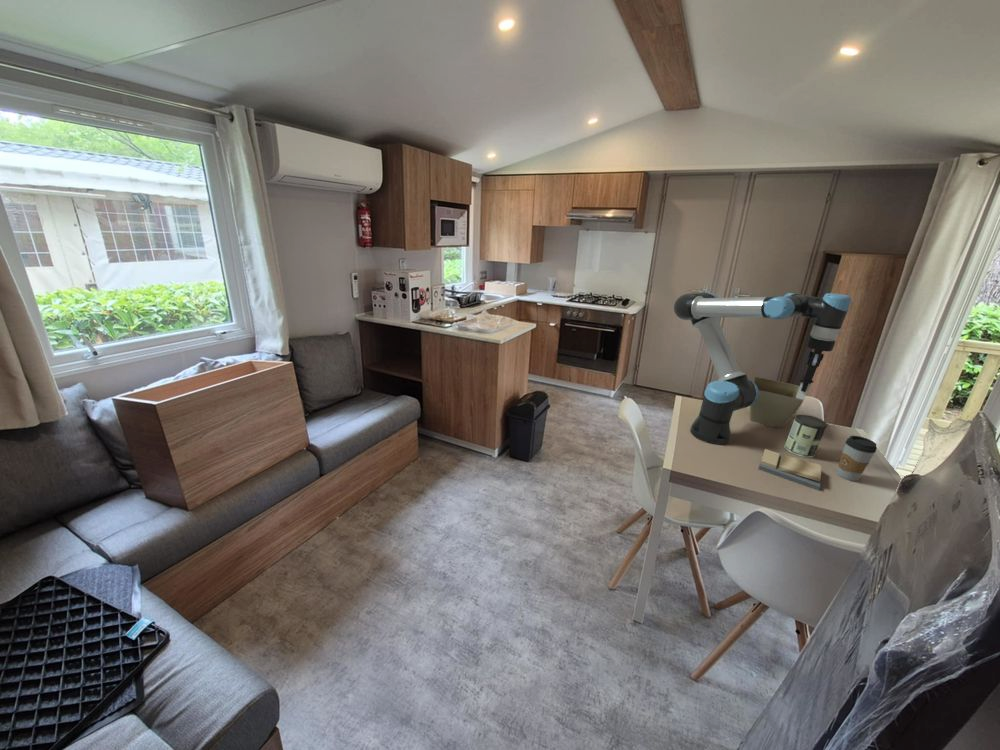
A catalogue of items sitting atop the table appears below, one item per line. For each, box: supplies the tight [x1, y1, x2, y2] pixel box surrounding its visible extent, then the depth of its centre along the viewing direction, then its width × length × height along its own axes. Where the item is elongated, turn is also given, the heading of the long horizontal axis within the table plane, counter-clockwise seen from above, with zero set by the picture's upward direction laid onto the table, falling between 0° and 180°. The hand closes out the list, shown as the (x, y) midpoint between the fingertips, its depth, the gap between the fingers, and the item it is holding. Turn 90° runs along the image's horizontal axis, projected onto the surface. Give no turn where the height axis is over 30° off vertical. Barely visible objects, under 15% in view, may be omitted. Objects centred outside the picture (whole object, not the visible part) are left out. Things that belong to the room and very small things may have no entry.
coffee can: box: [784, 414, 828, 459], centre depth 156 cm, size 10×10×14 cm
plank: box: [778, 453, 822, 483], centre depth 142 cm, size 12×11×1 cm
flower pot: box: [749, 376, 804, 429], centre depth 180 cm, size 19×19×17 cm
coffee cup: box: [836, 435, 878, 482], centre depth 140 cm, size 8×8×15 cm
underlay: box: [758, 448, 821, 491], centre depth 144 cm, size 18×15×3 cm
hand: (800, 398), depth 147 cm, fingers closed
